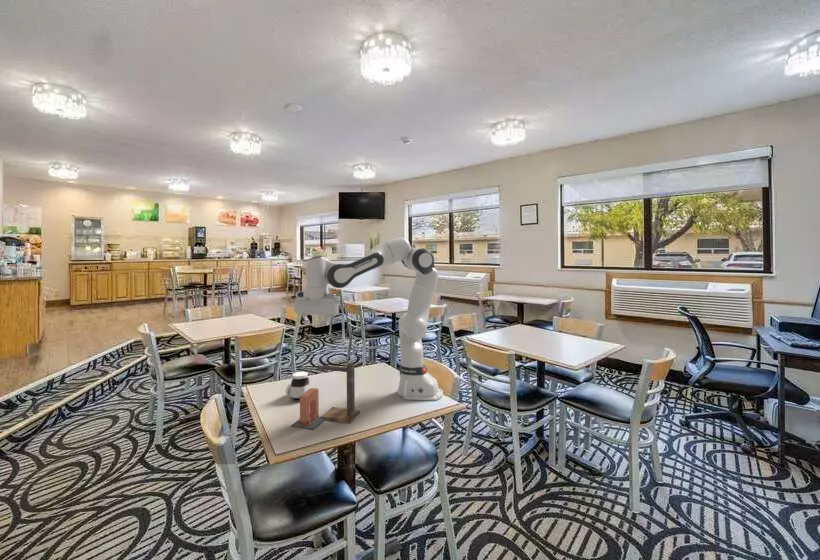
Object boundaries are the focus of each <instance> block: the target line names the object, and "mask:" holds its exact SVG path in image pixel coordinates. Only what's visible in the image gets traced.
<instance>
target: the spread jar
mask: <svg viewBox="0 0 820 560" xmlns="http://www.w3.org/2000/svg"><path fill="white" fill-rule="evenodd" d="M308 376H309V375H308V372H306V371H297V372H294V373H292V380H291V381H290V383H288V384H287V386H286V389H285V394H286V395H288V396H290V399H292V400H293V401H298V402H300V395H302V394H303V393H305V392H306V391H308V390H309V389H310V378H309V377H308Z"/></svg>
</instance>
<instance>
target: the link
mask: <svg viewBox="0 0 820 560" xmlns="http://www.w3.org/2000/svg"><path fill="white" fill-rule="evenodd" d="M319 398H320V397H319V388H318V387H317V388H316V387H311V388H309V390H308V391H306V392H305V393H303V394H302V395H300V401H299V419H300V426H306V427H307V426H308V425H309V424H311V420H315V419H317V418H318V417H319V416H320V415H319V414H320V412H319V411H320V410H319V409H320V408H319V405H320V404H319V402H320V400H319Z"/></svg>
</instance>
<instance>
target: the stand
mask: <svg viewBox="0 0 820 560" xmlns="http://www.w3.org/2000/svg"><path fill="white" fill-rule="evenodd" d="M316 369H317V370H321V371H323V370H324V371H332V372H343V373H346V407H345V408H344V407H335V406H332V407H331V408H329V409H328V410H327V411H325V413H324V414H322V415H321V416H320V417H321V418H325V421H331V422H337V423H344V424H351V423H352V422H353V421H354V420H355V419H356V418H357V417H358V416H359V415H360V414H361V410H360V409H355V408H356V407H355V405H356V404H355V400H356V399H355V391H356V390H355V388H356V387H355V383H356V382H355V364H354V363H348V364H346V367H340V366H339V367H337V366H328V365H316Z"/></svg>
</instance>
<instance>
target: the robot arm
mask: <svg viewBox="0 0 820 560" xmlns="http://www.w3.org/2000/svg"><path fill="white" fill-rule="evenodd" d="M398 262H401V263H402V264H403V266H404V267H405V268H407V269H409V270H412V271H415V279H414V283H413V286H412V289H411V291H410V293H409V297H408V306H407V309H406V310H407V311H406V312H405V313H403V314H402V315H401V316H400V317H399V319H398V333H399V342H400V343H399V345H400V363H399V382H398V388H397V392H396V394H397V395H399V396H400V397H402V398H403V399H404V400H409V401H413V400H414V401H439V400H440V399H441V398H442V397H443V394H444V391H443V389H442V388H439V383H438V380H437V379H436V378H435V377H434V376H432V375H431V374H430V373H428V365H425V364H424V346H423V342H422V339H423V338H425V336H426V335H427V331H428V321H429V317H430V316H429V315H430V311H431V307H432V306H431V305H432V302H433V299H434V296H435V292H436V289H437V285H438V280H439V272H438V270H437V269H436V267H435V258H434V254H433V253H432V251H431V250H429V249H427V248H423V247H413V246H412V245H411V243H410V241H409V240H408V239H407V238H405V237H401V236H400V237H395V238H392V239H389V240H385V241H383V242H381V243H379V244H376V245H375V246H374V247H372V248H370V251H369V253H368V254H367V255H365V256H364V257H362V258H360V259H357V260H355V261H353V262H350V263H336V262H334V261H331V260H330V259H328V258H326V257H325V256H322V255H320V256H313V257H310V258H309V259H307V261H306V265H305V278H306V285H305V289H303V290H300V291H297V292H295V297H296V298H295V300H294V313H295V314H299V315H302V317H301V318H303V320H304V324H305V325H309V324H310V322H311V321H310V319H309V318H308V315H315V316H316V315H318V316H325V318H326V319H325V320H323V326H330V320H331V318H332V316H336V315H337V316H338V314H339V313H340V311H339V310H340V309H339V308H340V307H339V297H338V296H337V295H336V294H334V293H327V292H328V291H327V290H328V288H327V286H328V285H331V286H332V287H333V288H337V289H342V288H343V289H344V288H346V287H347V286H348V285H349V284H350V283H351V282H352V281H353V280H354V279H355V278H356V277H359V276H361V275H363V274H366V273H368V272H370V271H372V270H376V269H381V268H385V267H388V266H392V265H393V264H395V263H398Z"/></svg>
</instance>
